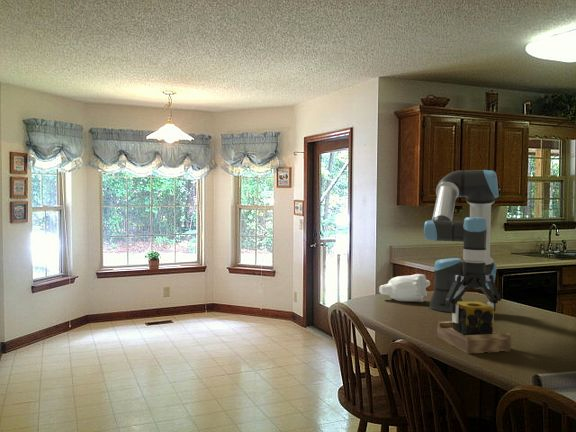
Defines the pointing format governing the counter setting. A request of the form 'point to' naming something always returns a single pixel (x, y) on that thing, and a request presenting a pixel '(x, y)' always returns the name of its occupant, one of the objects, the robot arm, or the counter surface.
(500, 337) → the display stand
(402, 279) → the mask
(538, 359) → the counter surface
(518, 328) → the counter surface
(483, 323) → the candle
